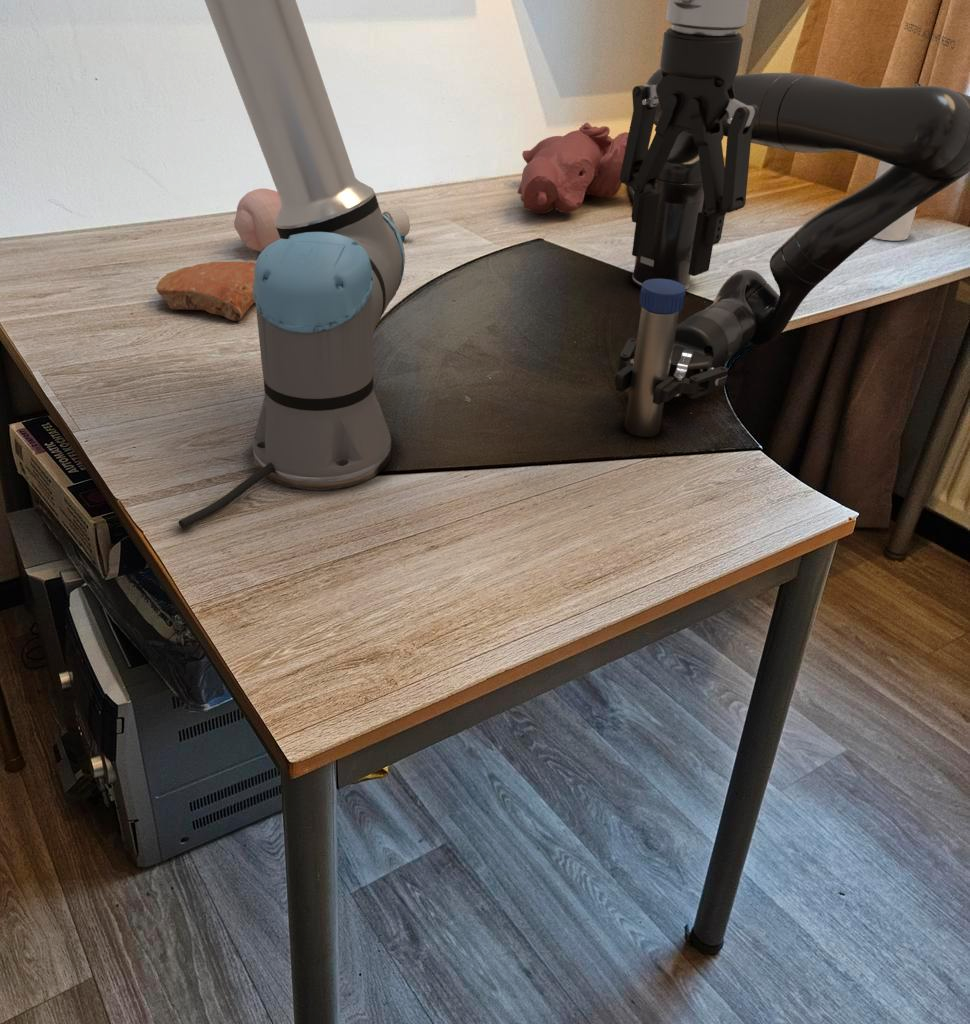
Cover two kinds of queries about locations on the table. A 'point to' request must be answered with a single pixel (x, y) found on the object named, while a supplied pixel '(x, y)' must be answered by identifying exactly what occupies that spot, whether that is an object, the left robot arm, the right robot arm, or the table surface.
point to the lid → (662, 296)
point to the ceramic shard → (211, 288)
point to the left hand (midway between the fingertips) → (669, 262)
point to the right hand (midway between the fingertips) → (638, 389)
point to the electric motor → (399, 221)
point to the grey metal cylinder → (650, 371)
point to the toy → (258, 218)
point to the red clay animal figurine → (572, 169)
